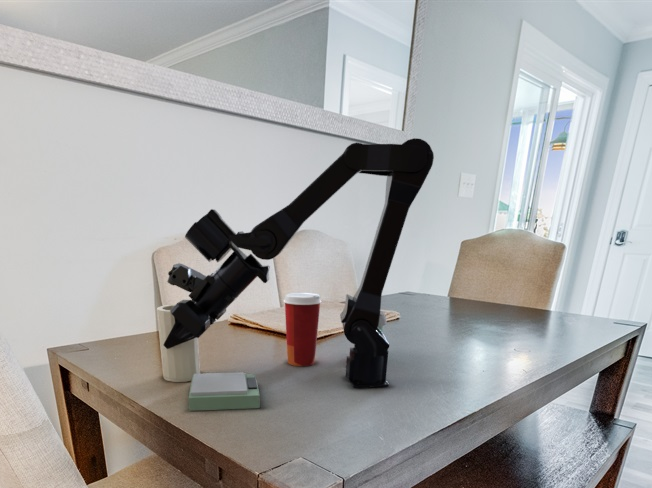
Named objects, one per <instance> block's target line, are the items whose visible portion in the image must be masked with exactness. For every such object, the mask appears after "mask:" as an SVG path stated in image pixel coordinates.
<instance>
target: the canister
mask: <svg viewBox="0 0 652 488" xmlns="http://www.w3.org/2000/svg"><path fill="white" fill-rule="evenodd" d="M176 304H177V303H176ZM176 304H166V305H161V306H158V307H157V308H156V316H157V326H158V327H157V328H158V337H159V348H160V358H161V367H162V369H161V370H162V375H163V379H164V380H165V381H167V382H173V383H184V382H185V383H187V382H192V377H193V376H194V374H200V373H201V367H200V366H201V365H200V353H199V352H200V351H199V338H194V339H192V340H189V341H186V342H184V343H181V344H179V345H177V346H174V347H172V348H169V349H167V348H166V347H165V346H164V345H163V344H164V342H165V341H166V339H167V337H168V335H169V333H170V331H171V330H172V328H173V326H174V324H175V319H174V316H173V315H172V314H171V312H170V310H171V309H172V308H173V307H174V306H175V305H176Z"/></svg>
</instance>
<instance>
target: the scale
mask: <svg viewBox="0 0 652 488" xmlns="http://www.w3.org/2000/svg"><path fill="white" fill-rule="evenodd" d="M187 400H188V410H189V412H193V411H194V412H196V411H217V410H218V411H220V410H222V411H223V410H245V409H248V410H249V409H260V408H261V396H260V390H259V386H258V382H257V377H256V373H245V372H244V371H241V372H240V371H238V372H235V371H234V372H208V373H207V372H205V373H201V372H200V374H194V376H193V377H192V381H190V388H189V393H188V399H187Z"/></svg>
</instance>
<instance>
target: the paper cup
mask: <svg viewBox="0 0 652 488" xmlns="http://www.w3.org/2000/svg"><path fill="white" fill-rule="evenodd" d="M282 302H283V303H284V311H285V313H284V314H285V333H286V334H285V335H286V336H285V337H286V355H287V364H289V366H290V365H291V366H295V367H308V366H312V365H314V364H315V360H316V352H317V342H318V341H317V340H318V332H319V321H320V320H319V319H320V309H321V303H322V302H323V301H322V300H321V296H320V294H318V293H316V292H315V293H314V292H290V293H286V294H285V296H284V299H283V301H282Z"/></svg>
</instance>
